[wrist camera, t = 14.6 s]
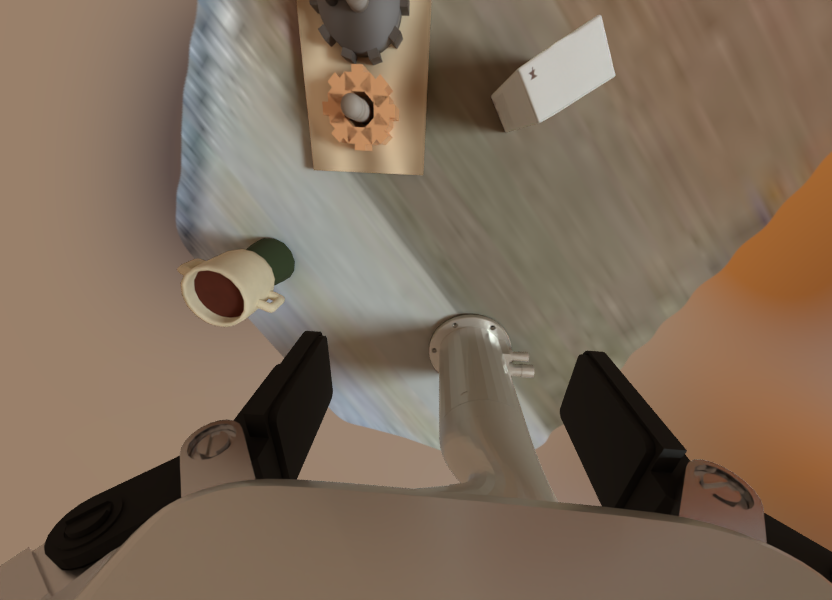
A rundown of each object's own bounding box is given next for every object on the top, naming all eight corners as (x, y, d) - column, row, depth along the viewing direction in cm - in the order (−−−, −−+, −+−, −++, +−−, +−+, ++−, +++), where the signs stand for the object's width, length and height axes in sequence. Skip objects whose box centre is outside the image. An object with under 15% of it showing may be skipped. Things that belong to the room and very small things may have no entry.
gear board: (434, -62, 27) (433, -145, 20) (423, 174, 36) (419, 179, 29) (295, -64, 28) (242, -146, 20) (318, 169, 37) (286, 173, 29)
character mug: (233, 262, 43) (157, 303, 31) (243, 218, 40) (163, 244, 28) (304, 295, 45) (257, 344, 33) (319, 254, 42) (273, 293, 30)
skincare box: (505, 134, 34) (536, 126, 23) (489, 95, 32) (515, 67, 22) (558, 101, 32) (618, 76, 21) (544, 59, 31) (601, 9, 20)
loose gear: (399, 74, 31) (395, 65, 28) (398, 152, 34) (394, 152, 31) (331, 71, 31) (319, 62, 28) (336, 149, 34) (326, 148, 31)
